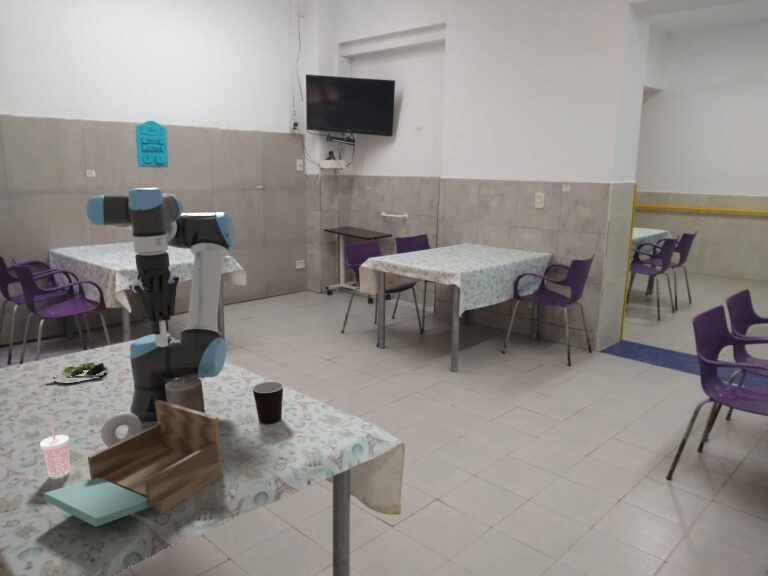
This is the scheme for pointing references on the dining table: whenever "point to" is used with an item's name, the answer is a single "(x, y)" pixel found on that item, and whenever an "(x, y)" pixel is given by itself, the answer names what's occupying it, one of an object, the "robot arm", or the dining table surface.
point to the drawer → (165, 457)
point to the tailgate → (96, 501)
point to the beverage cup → (56, 454)
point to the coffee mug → (268, 401)
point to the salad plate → (92, 368)
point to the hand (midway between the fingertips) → (162, 345)
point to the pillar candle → (186, 393)
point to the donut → (115, 422)
